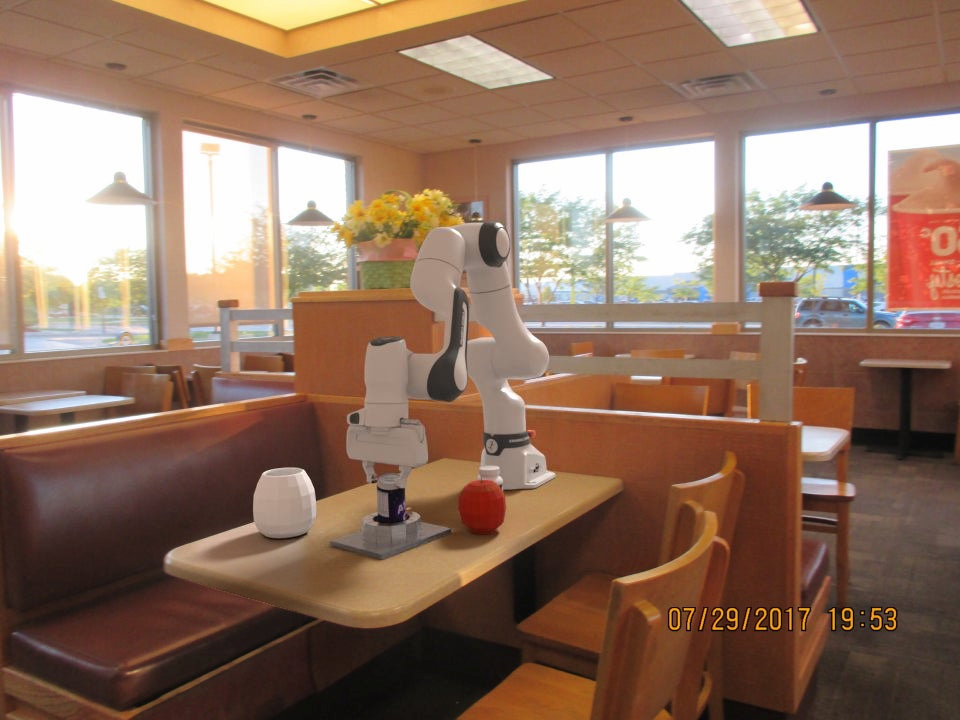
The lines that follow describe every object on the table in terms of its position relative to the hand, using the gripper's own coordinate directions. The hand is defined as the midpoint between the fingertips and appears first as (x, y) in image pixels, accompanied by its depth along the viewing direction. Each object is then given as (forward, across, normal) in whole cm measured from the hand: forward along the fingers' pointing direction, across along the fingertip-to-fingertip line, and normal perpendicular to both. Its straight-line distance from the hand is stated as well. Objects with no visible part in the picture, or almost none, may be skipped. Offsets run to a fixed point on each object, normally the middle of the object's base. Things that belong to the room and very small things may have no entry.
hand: (386, 485), depth 153 cm
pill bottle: (+10, -5, -28) cm, 30 cm away
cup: (+12, +23, +7) cm, 27 cm away
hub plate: (+12, +1, -3) cm, 12 cm away
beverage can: (+10, +1, -3) cm, 11 cm away
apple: (+11, -11, -18) cm, 24 cm away
